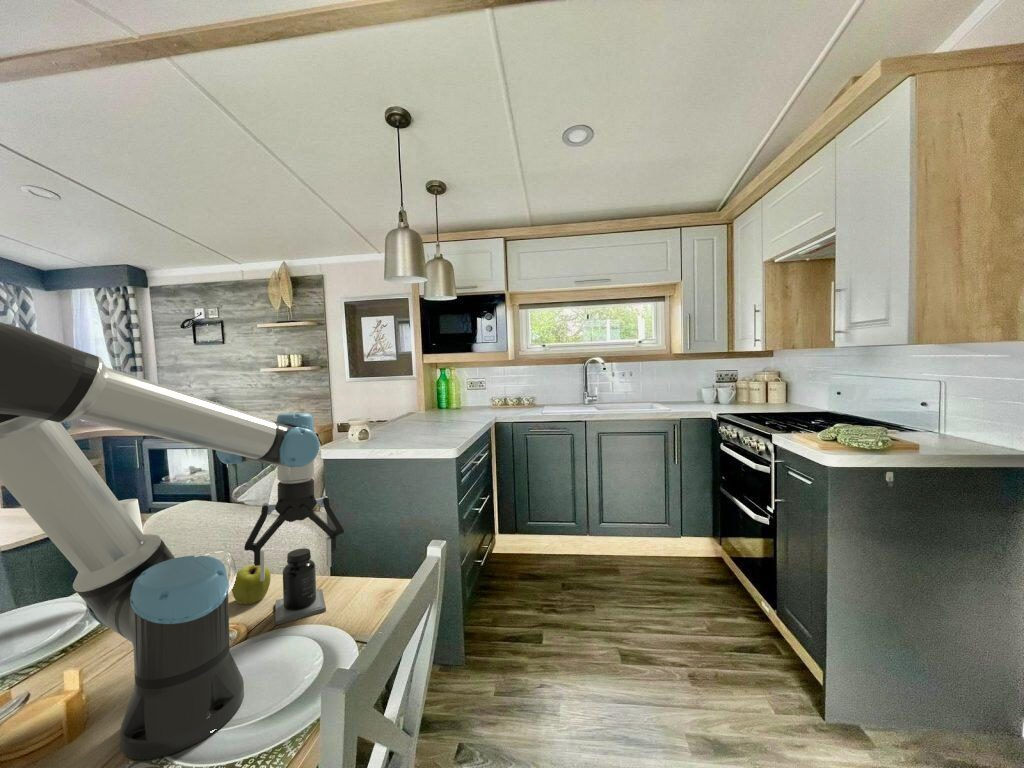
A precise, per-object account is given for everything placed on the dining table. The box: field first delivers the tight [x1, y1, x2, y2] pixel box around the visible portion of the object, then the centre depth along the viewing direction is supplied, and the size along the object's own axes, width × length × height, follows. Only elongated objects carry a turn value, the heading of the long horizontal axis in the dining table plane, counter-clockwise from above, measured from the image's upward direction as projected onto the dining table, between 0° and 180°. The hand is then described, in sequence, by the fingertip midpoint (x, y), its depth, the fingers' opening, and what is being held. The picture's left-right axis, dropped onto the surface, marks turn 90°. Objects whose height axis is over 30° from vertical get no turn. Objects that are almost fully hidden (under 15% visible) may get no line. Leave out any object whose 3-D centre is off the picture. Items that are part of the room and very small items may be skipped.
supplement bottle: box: [282, 548, 317, 610], centre depth 96 cm, size 7×7×12 cm
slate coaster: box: [274, 588, 327, 626], centre depth 96 cm, size 10×10×1 cm
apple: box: [231, 563, 271, 606], centre depth 99 cm, size 8×8×10 cm
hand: (296, 571), depth 95 cm, fingers open, 13 cm apart
